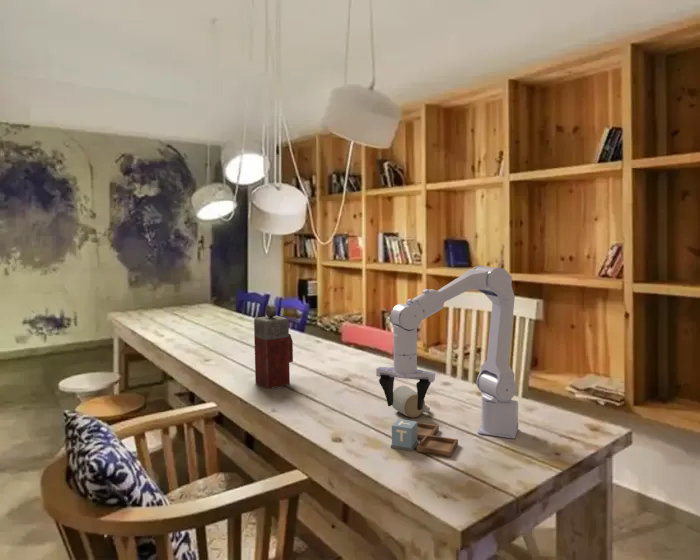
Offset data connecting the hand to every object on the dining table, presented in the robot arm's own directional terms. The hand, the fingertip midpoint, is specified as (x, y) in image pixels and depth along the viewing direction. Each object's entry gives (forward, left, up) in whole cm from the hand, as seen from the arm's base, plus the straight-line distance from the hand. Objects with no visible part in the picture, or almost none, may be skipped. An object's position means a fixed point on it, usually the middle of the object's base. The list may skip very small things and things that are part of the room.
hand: (405, 406), depth 133 cm
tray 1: (-1, -9, -10) cm, 13 cm away
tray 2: (-8, -1, -10) cm, 13 cm away
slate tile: (0, 0, -10) cm, 10 cm away
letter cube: (0, 0, -9) cm, 9 cm away
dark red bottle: (+59, -34, -10) cm, 69 cm away
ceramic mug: (+5, -23, -10) cm, 26 cm away
